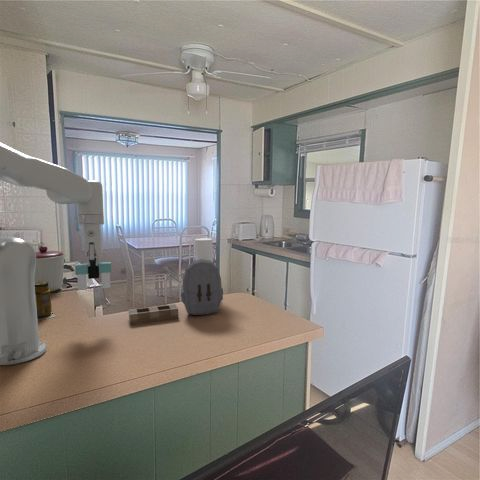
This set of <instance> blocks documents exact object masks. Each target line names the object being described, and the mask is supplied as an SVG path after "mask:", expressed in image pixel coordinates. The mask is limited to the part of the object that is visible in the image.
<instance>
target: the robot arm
mask: <svg viewBox="0 0 480 480" xmlns="http://www.w3.org/2000/svg"><path fill="white" fill-rule="evenodd" d="M0 181H3V182H4V183H7V184H9V185H13V186H14V185H15V186H19V187H23V188H24V187H25V188H33V189H40V190H44V191H45V192H46V196H47V197H48V199H49V200H50V201H52V202H53V203H55V204H58V205H77V209H76V210H77V222H78V223H77V225H78V226H82V236H83V237H82V238H83V239H82V241H83V248H84V255H85V257H87V263H88V274H87V279H89V280H90V279H91V280H93V279H99V278H100V274H101V273H99V265H98V263H99V257H102V256H103V237H102V236H103V235H102V227H101V226H103V225H105V218H104V217H105V216H104V213H105V212H104V194H103V184H102V183H101V182H100V181H98V180H87V179H86V178H85V177H83V176H81V175H80V174H77V173H75V172H74V171H72V170H69V169H68V168H66V167H62V166H60V165H58V164H54V163H51V162H48V161H46V160H43V159H40V158H37V157H34V156H30V155H27V154H25V153H23V152H20V151H19V150H16V149H14V148H13V147H11V146H8V145H6V144H4V143H2V142H0ZM35 252H36V250H35V249H34V247H33V245H32V244H30V242H28V241H26V240H25V239H22V238H20V237H13V236H1V235H0V366H10V365H11V366H12V365H18V364H21V363H26V362H28V361H29V362H30V361H31V360H33V359H36V358H39V357H40V356H42V355H43V354H44V353H45V352H46V351H47V345H46V343H45V342H42V341H40V336H39V335H40V334H39V323H38V321H39V320H37V308H36V296H35V283H34V275H35V266H36V254H35Z"/></svg>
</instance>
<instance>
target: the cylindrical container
mask: <svg viewBox="0 0 480 480" xmlns="http://www.w3.org/2000/svg"><path fill="white" fill-rule="evenodd" d="M213 248H214V246H213V238H211V237H208V238H206V237H201V238H195V239H194V255H195V257H194V259H195V260H194V261H197V260H200V259H204V260H210V261H211V262H213V263H214V255H213V253H214V251H213Z"/></svg>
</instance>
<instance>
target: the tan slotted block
mask: <svg viewBox="0 0 480 480" xmlns="http://www.w3.org/2000/svg"><path fill="white" fill-rule="evenodd" d="M128 319H129V320H128V321H129V324H130V325H131V326H132V325H140V324H147V323H155V322H161V321H163V322H164V321H170V320H176V319H180V318H179V308H178V306H177V305H176V303H172V304H165V305H163V304H162V305H155V306H147V307H146V306H145V307H137V308H131V309H128Z"/></svg>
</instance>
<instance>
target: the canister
mask: <svg viewBox="0 0 480 480" xmlns="http://www.w3.org/2000/svg"><path fill="white" fill-rule="evenodd" d="M35 254H36V266H35V275H34V283H38V282H47V283H48V284H49V285H48V286H49V290H50V293H51V292H55V291H58V290H60V289H61V288H62V286H63V281H64V269H65V268H64V265H65V256H66V253H64V252H63V251H59V250H48V246H46V245H40V246H39V247H38V251H35Z"/></svg>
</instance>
